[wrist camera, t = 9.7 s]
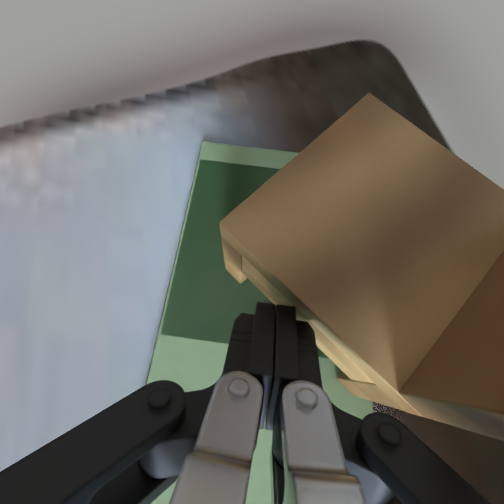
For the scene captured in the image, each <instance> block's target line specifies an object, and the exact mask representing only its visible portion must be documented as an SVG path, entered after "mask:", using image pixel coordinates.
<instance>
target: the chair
mask: <svg viewBox="0 0 504 504" xmlns="http://www.w3.org/2000/svg"><path fill="white" fill-rule="evenodd" d="M219 226H220V233H221V240H222V247H223V255H224V262H225V269H226V270H227V271H228V272H229V273H230V274H231V275H232V276H233V277H234V278H235V279H236V280H237V281H238V282H239V283H240V284H241V283H242V282H243V281H244V280H246V279H247V278H248V279H249V280H250V281H251V282H252V283H253V284H254V285H255V286H256V287H257V288H258V289H259V290H260V291H261V292H262V293H263V294H264V295H265V296H266V297H267V298H268V299H269V300H270V301H271V302H272V303H273V304H275V306H276V304H280V305H287V306H294V307H295V308H296V320H299V321H307V322H308V323H309V324H310V326H311V327H312V329H313V330H314V331H315V338H316V345H317V347H318V348H319V349H320V350H321V351H322V352H323V353H324V354H325V355H326V356H327V357H328V358H330V359H331V360H332V361H333V362H334V363H335V364H336V365H337V366H338V367H339V368H340V369H341V370H342V371H341V372H340V373H339V374H338V375H337V377H336V379H337V380H338V381H339V382H340V383H341V384H342V385H343V386H344V387H345V388H346V389H347V390H348V391H349V392H350V393H351V394H352V395H353V396H356V397H359V398H363V399H366V400H369V401H373V402H376V403H379V404H383V405H386V406H389V407H393V408H396V409H399V410H403V411H404V412H407V413H411V414H414V415H417V416H421V417H425V418H429V419H432V420H435V421H439V422H442V423H445V424H449V425H452V426H455V427H458V428H462V429H465V430H468V431H472V432H475V433H478V434H482V435H485V436H488V437H492V438H495V439H498V440H502V441H504V190H503V189H502V188H501V187H499V186H498V185H496V184H495V183H493V182H492V181H491V180H489V179H488V178H487V177H485V176H484V175H482V174H481V173H480V172H478V171H477V170H475V169H474V168H473V167H471V166H470V165H468V164H467V163H466V162H464V161H463V160H462V159H460V158H459V157H458V156H456V155H455V154H453V153H452V152H451V151H449V150H448V149H446V148H445V147H444V146H442V145H441V144H440V143H438V142H437V141H435V140H434V139H433V138H431V137H430V136H428V135H427V134H426V133H424V132H423V131H422V130H420V129H419V128H417V127H416V126H415V125H413V124H412V123H410V122H409V121H408V120H406V119H405V118H403V117H402V116H401V115H399V114H398V113H397V112H395V111H394V110H392V109H391V108H390V107H388V106H387V105H385V104H384V103H383V102H381V101H380V100H379V99H377V98H376V97H374V96H373V95H372V94H370V93H368V94H367V95H366V96H365V97H363V98H362V99H361V100H360V101H359V102H358V103H356V104H355V105H354V106H353V107H352V108H351V109H350V110H348V111H347V112H346V113H345V114H344V115H343V116H341V117H340V118H339V119H338V120H337V121H336V122H335V123H333V124H332V125H331V126H330V127H329V128H328V129H326V130H325V131H324V132H323V133H322V134H321V135H320V136H318V137H317V138H316V139H315V140H314V141H313V142H311V143H310V144H309V145H308V146H307V147H306V148H305V149H303V150H302V151H301V152H300V153H299V154H298V155H296V156H295V157H294V158H293V159H292V160H291V161H290V162H288V163H287V164H286V165H285V166H284V167H283V168H281V169H280V170H279V171H278V172H277V173H276V174H275V175H273V176H272V177H271V178H270V179H269V180H268V181H266V182H265V183H264V184H263V185H262V186H261V187H260V188H258V189H257V190H256V191H255V192H254V193H253V194H251V195H250V196H249V197H248V198H247V199H246V200H245V201H243V202H242V203H241V204H240V205H239V206H238V207H236V208H235V209H234V210H233V211H232V212H231V213H229V214H228V215H227V216H226V217H225V218H224V219H223V220H221V221H220V222H219Z"/></svg>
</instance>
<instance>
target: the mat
mask: <svg viewBox="0 0 504 504" xmlns="http://www.w3.org/2000/svg"><path fill="white" fill-rule="evenodd" d="M298 154H299V153H296V152H287V151H279V150H271V149H262V148H254V147H246V146H237V145H229V144H221V143H212V142H204V141H203V142H202V146H201V151H200V155H199V159H198V164H197V168H196V173H195V177H194V181H193V186H192V190H191V194H190V199H189V203H188V207H187V212H186V216H185V220H184V225H183V229H182V233H181V238H180V242H179V246H178V251H177V255H176V259H175V264H174V268H173V272H172V277H171V281H170V285H169V290H168V294H167V298H166V303H165V307H164V311H163V316H162V320H161V324H160V329H159V333H158V337H157V342H156V346H155V350H154V355H153V359H152V363H151V368H150V372H149V376H148V381H147V384H149V383H151V382H154V381H158V380H168V381H172V382H175V383H177V384H179V385H180V386H181V387H182V388H183V390H184V392H190V391H197V390H202V389H205V388H208V387H210V386H212V385H213V384H214V383H216V382H217V380H218V379H219V378H220V377H221V375H222V372H223V368H224V363H225V359H226V354H227V350H228V346H229V341H230V337H231V332H232V328H233V323H234V320H235V319H236V318H237V317H238V316H239V315H240V314H241V313H248V314H255V312H256V304H257V302H265V303H272V302H271V301H270V300H269V299H268V298H267V297H266V296H265V295H264V294H263V293H262V292H261V291H260V290H259V289H258V288H257V287H256V286H255V285H254V284H253V283H252V282H251V281H250V280H249V279H248V278H247V279H246V280H244V281H243V282H242V283H241V284H240V283H239V282H238V281H237V280H236V279H235V278H234V277H233V276H232V275H231V274H230V273H229V272H228V271H227V270H226V269H225V262H224V255H223V247H222V240H221V233H220V226H219V222H220V221H221V220H223V219H224V218H225V217H226V216H227V215H228V214H229V213H231V212H232V211H233V210H234V209H235V208H236V207H238V206H239V205H240V204H241V203H242V202H243V201H245V200H246V199H247V198H248V197H249V196H250V195H251V194H253V193H254V192H255V191H256V190H257V189H258V188H260V187H261V186H262V185H263V184H264V183H265V182H266V181H268V180H269V179H270V178H271V177H272V176H273V175H275V174H276V173H277V172H278V171H279V170H280V169H281V168H283V167H284V166H285V165H286V164H287V163H288V162H290V161H291V160H292V159H293V158H294V157H295V156H296V155H298ZM272 304H273V303H272ZM275 308H276V306H275ZM317 353H318V359H319V366H320V373H321V380H322V387H323V390H324V391H325V392H326V394H327V395H328V397H329V399H330V401H331V402H332V403H333V404H334V405H335V406H336V407H338V408H339V409H341V410H342V411H344V412H346V413H349V414H351V415H353V416H356V417H358V418H360V419H362V420H363V418H364V417H365V416H366V415H368V414H370V413H373V401H369V400H366V399H363V398H359V397H356V396H353V395H352V394H351V393H350V392H349V391H348V390H347V389H346V388H345V387H344V386H343V385H342V384H341V383H340V382H339V381H338V380H337V379H336V377H337V375H338V374H339V373H340V372H341V371H342V370H341V369H340V368H339V367H338V366H337V365H336V364H335V363H334V362H333V361H332V360H331V359H330V358H328V357H327V356H326V355H325V354H324V353H323V352H322V351H321V350H320V349H319V348H318V347H317ZM265 421H266V416H265ZM265 421H264V427H263V429H259V433H258V439H257V445H256V448H255V451H254V453H253V458H252V465H251V471H250V478H249V484H248V490H247V497H246V503H245V504H271V478H270V452H271V447H272V432H273V431H272V430H265ZM177 480H178V479H177ZM177 480H176V481H175V482H174V483H173V484H172V485H171V486H170V487H169V488H168V489H166V490H165V491H164V492H163V493H162V494H161V495H160V496H159V497H158V498H156V499H155V500H154V501H153V502H152V503H151V504H169V502H170V499H171V497H172V494H173V491H174V488H175V485H176V482H177Z"/></svg>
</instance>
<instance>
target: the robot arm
mask: <svg viewBox="0 0 504 504" xmlns="http://www.w3.org/2000/svg"><path fill="white" fill-rule="evenodd" d="M265 416H266V421H265ZM264 421H265V430H272V431H273V432H272V447H271V452H270V478H271V504H490V503H489V502H488V501H487V500H486V499H485V498H484V497H483V496H482V495H480V494H479V493H478V492H477V491H476V490H475V489H474V488H473V487H472V486H471V485H470V484H468V483H467V482H466V481H465V480H464V479H463V478H462V477H461V476H460V475H459V474H457V473H456V472H455V471H454V470H453V469H452V468H451V467H450V466H449V465H448V464H446V463H445V462H444V461H443V460H442V459H441V458H440V457H439V456H438V455H437V454H436V453H434V452H433V451H432V450H431V449H430V448H429V447H428V446H427V445H426V444H425V443H423V442H422V441H421V440H420V439H419V438H418V437H417V436H416V435H415V434H414V433H412V432H411V431H410V430H409V429H408V428H407V427H406V426H405V425H404V424H402V423H401V422H400V421H399V420H397V419H396V418H394V417H392V416H390V415H387V414H384V413H370V414H368V415H366V416H365V417H364V418H363V420H362V419H360V418H358V417H356V416H353V415H351V414H349V413H346V412H344V411H342V410H341V409H339V408H338V407H336V406H335V405H334V404H333V403H332V402H331V401H330V399H329V397H328V395H327V394H326V392H325V391H324V390H323V387H322V380H321V373H320V366H319V359H318V353H317V345H316V338H315V331H314V330H313V329H312V327H311V326H310V324H309V323H308V322H307V321H299V320H296V308H295V307H294V306H287V305H280V304H276V308H275V304H272V303H265V302H257V304H256V312H255V314H248V313H241V314H240V315H239V316H238V317H237V318H236V319H235V320H234V323H233V328H232V332H231V337H230V341H229V346H228V350H227V354H226V359H225V363H224V368H223V372H222V375H221V377H220V378H219V379H218V380H217V382H216V383H214V384H213V385H212V386H210V387H208V388H205V389H202V390H197V391H190V392H184V390H183V388H182V387H181V386H180V385H179V384H177V383H175V382H172V381H168V380H158V381H154V382H151V383H149V384H147V385H145V386H143V387H142V388H140V389H138V390H137V391H135V392H133V393H132V394H130V395H128V396H127V397H125V398H123V399H122V400H120V401H118V402H117V403H115V404H113V405H112V406H110V407H108V408H107V409H105V410H103V411H102V412H100V413H98V414H96V415H95V416H93V417H91V418H90V419H88V420H86V421H85V422H83V423H81V424H80V425H78V426H76V427H75V428H73V429H71V430H70V431H68V432H66V433H65V434H63V435H61V436H60V437H58V438H56V439H55V440H53V441H51V442H50V443H48V444H46V445H45V446H43V447H41V448H40V449H38V450H36V451H35V452H33V453H31V454H30V455H28V456H26V457H25V458H23V459H21V460H19V461H18V462H16V463H14V464H13V465H11V466H9V467H8V468H6V469H4V470H3V471H1V472H0V504H151V503H152V502H153V501H154V500H155V499H156V498H158V497H159V496H160V495H161V494H162V493H163V492H164V491H165V490H166V489H168V488H169V487H170V486H171V485H172V484H173V483H174V482H175V481H176V480H177V479H178V480H177V482H176V485H175V488H174V491H173V494H172V497H171V499H170V502H169V504H245V503H246V497H247V490H248V484H249V478H250V471H251V465H252V458H253V453H254V451H255V448H256V445H257V439H258V433H259V429H263V427H264Z"/></svg>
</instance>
